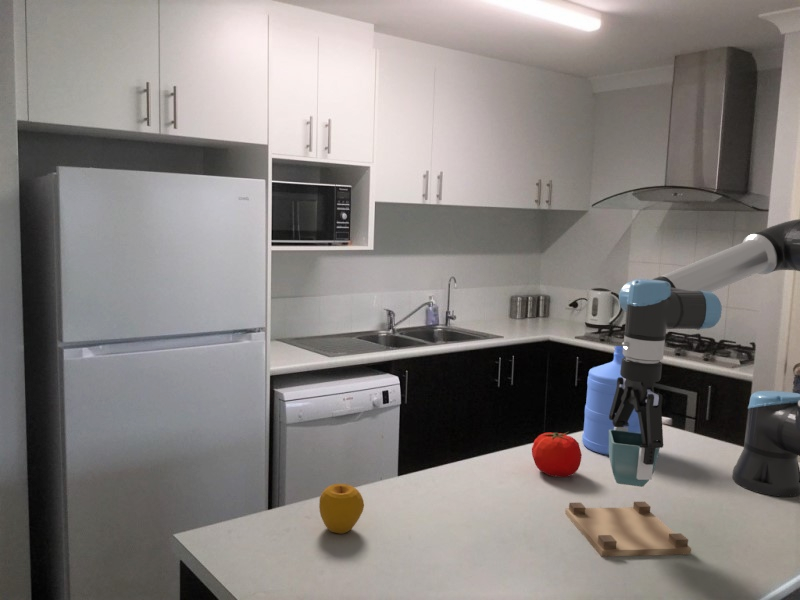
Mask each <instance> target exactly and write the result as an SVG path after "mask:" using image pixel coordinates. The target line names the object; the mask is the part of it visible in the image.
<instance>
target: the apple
mask: <svg viewBox="0 0 800 600" xmlns="http://www.w3.org/2000/svg"><path fill="white" fill-rule="evenodd" d="M364 507H365V504H364V499H363V496H362V494H361V492H360V491H359V490H358V489H357V487H356V488H355V487H354V486H352V485H350V484H349V485H348V484H344V483H334V484H331V485H329V486H327V487H326V488H325V489H324V490H323V491H322V492H321V495H320V496H319V509H318V510H319V513H320V517H321V520H322V522H323V524H324V526H325V528H327V529H328V531H330V532H332V533H335V534H340V535H341V534H342V535H343V534H346V533H348V532H350V530H351V531H352V529H353V528H354V527H355V525H356V524H357V522H358V521H359V519H360V518H361V515H362V514H363V512H364Z"/></svg>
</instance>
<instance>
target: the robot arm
mask: <svg viewBox="0 0 800 600" xmlns="http://www.w3.org/2000/svg"><path fill="white" fill-rule="evenodd" d="M777 271H794V272H795V271H796V272H800V219H799V218H798V219H792V220H789V221H788V220H787V221H784V222H781V223H778V224H775V225H772V226H769V227H767V228H763V229H761V230H759V231H756V232H754V233H751V234H749V235H747V236H746V237H745V238H744V239H743V241H742V243H738V244H736V245H734V246H731V247H728V248H726V249H724V250H721V251H719V252H717V253H715V254H714V253H713V254H712V255H709V256H706V257H704V258H701V259H700V260H697V261H694V262H693V263H689V264H687V265H684V266H682V267H680V268H677V269H674V270H673V271H672V270H671V271H670V272H668V273H666V274H662V275H660V276H657V277H655V278H652V279H650V278H649V279H648V278H647V279H646V278H636V279H634V280H631V281H628V282H626V283H625V284H624V285H623V286H622V287H621V288H620V291H619V293H618V302H619V306H620V308H621V309H622V310H623V311H624V312H625V313H626V314H625V323H624V324H625V325H624V336H623V337H624V338H623V341H622V343H621V345H622V347H623V355H624V356H625V357H624V358H623V359H622V361H621V370H620V375H621V376H622V377H618V379H617V388H616V392H615V396H614V399H613V403H612V407H611V410H610V414H609V419H610V420H612V421H613V426H614V430H620V431H627V432H628V428H627V427H623V426H629V425H627V424H628V420H629V418H630V416H631V414H632V411H633V409H634V408H635V412H637V413H638V418H639V424H640V431H641V437H642V443H643V444H640V445H639V446H640V449H639V458H638V467H637V476H636V478H637V479H638V480H649V481H651V480H652V477H653V474H652V470H653V463H654V454H655V449H656V448H661V449H662V448H664V433H663V417H662V416H663V413H662V412H663V411H662V405H663V404H662V403H663V398H664V397H663V395H662V394H661V393H659V394H658V393H657V394H656V392H655V389H654V384H655V383H658V382H659V381H660V380H661V378H662V369H663V364H662V360H664V353H665V342H666V334H667V330H697V331H700V330H705V329H710V328H714V327H715V326H716V325H717V324H718V323H719V322H720V319H721V317H722V311H723V308H722V303H721V299H719V297H718V296H717V294H715V293H713V292H716V291H717V290H720V289H723V288H725V287H727V286H730V285H732V284H735V283H736V282H737V283H738V282H740V281H742V280H744V279H747V278H748V277H752V276H753V275H756V274H758V275H768V274H770V273H773V272H777ZM615 413H616V414H615ZM746 415H747V417H746V424H745V434H744V436H745V437H744V444H743V449H742V451H741V454H740V455H739V458H738V459H737V462H736V463H735V465H734V466H733V469H732V475H731V477H732V480H733V482H735V483H736V484H737V485H739V486H740V487H743V488H745V489H747V490H749V491H753V492H756V493H759V494H764V495H768V496H775V497H784V498H786V497H787V498H788V497H789V498H790V497H796V496H799V495H800V465H799V459H798V457H800V393H797V392H791V391H784V390H783V391H782V390H781V391H780V390H779V391H778V390H760V391H755V392H753V393H752V394H751V396H750V397H749V404H748V406H747V414H746Z"/></svg>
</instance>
